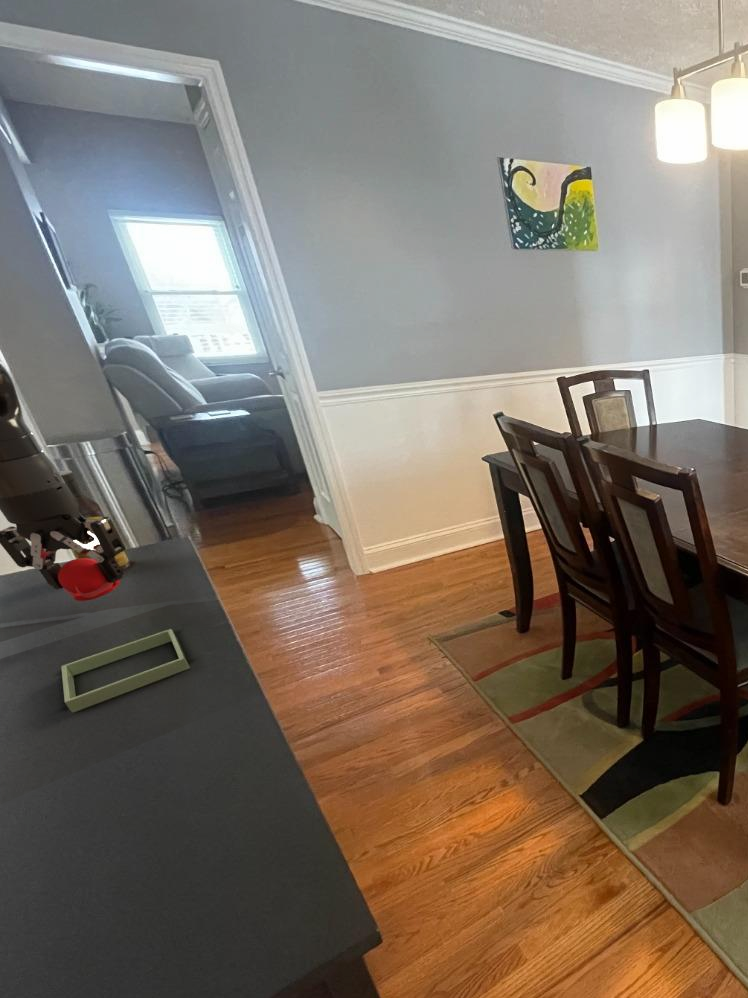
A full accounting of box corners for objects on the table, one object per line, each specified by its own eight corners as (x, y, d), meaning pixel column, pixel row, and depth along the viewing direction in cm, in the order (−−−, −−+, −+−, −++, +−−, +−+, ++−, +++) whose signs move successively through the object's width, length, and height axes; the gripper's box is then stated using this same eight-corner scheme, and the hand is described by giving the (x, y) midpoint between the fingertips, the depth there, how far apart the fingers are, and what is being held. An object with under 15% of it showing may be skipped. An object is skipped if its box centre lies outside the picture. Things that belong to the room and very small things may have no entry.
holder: (72, 713, 77) (64, 702, 76) (68, 676, 85) (60, 666, 84) (190, 668, 85) (183, 658, 84) (177, 638, 92) (171, 628, 91)
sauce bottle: (89, 585, 110) (24, 483, 100) (87, 575, 113) (24, 476, 104) (137, 571, 114) (78, 472, 104) (133, 562, 118) (76, 466, 108)
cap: (128, 592, 97) (107, 559, 94) (77, 608, 92) (54, 575, 90) (117, 579, 101) (97, 547, 98) (67, 595, 97) (45, 562, 94)
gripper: (-56, 501, 84) (17, 601, 91) (63, 489, 86) (124, 588, 94) (-7, 483, 90) (57, 578, 98) (101, 473, 92) (156, 566, 100)
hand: (90, 583), depth 96 cm, fingers closed on cap, 6 cm apart
